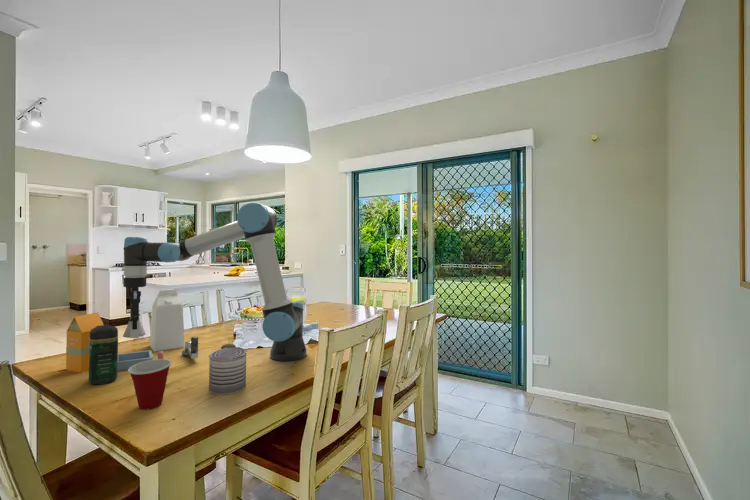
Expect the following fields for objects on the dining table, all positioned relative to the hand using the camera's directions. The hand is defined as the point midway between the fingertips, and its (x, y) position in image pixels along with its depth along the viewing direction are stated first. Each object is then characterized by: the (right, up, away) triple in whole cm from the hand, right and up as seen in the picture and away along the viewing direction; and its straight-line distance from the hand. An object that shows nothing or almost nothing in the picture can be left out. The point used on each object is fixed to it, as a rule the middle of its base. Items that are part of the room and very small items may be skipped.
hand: (134, 335), depth 144 cm
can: (+45, -12, -22) cm, 52 cm away
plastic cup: (+28, -12, -36) cm, 48 cm away
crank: (+18, -10, +9) cm, 22 cm away
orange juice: (-15, -11, -5) cm, 19 cm away
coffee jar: (+1, -12, -17) cm, 21 cm away
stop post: (+9, -11, +3) cm, 15 cm away
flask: (0, -1, 0) cm, 1 cm away
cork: (+40, -12, -10) cm, 43 cm away
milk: (-2, -11, +26) cm, 28 cm away
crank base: (+15, -11, +14) cm, 23 cm away
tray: (0, -11, 0) cm, 11 cm away
